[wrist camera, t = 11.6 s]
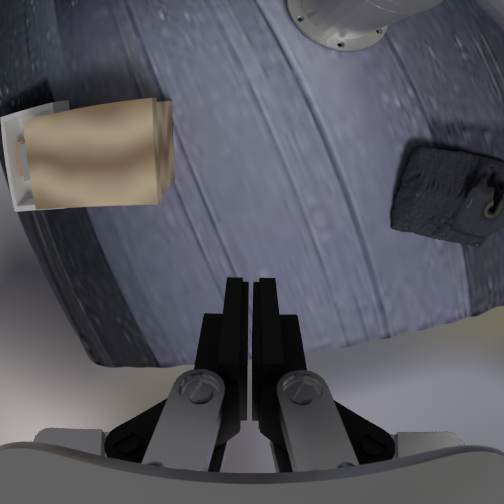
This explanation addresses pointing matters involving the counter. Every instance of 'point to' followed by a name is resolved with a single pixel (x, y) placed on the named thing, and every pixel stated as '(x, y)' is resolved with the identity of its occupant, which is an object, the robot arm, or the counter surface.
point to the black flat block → (450, 196)
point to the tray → (10, 136)
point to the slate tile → (24, 161)
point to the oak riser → (101, 155)
